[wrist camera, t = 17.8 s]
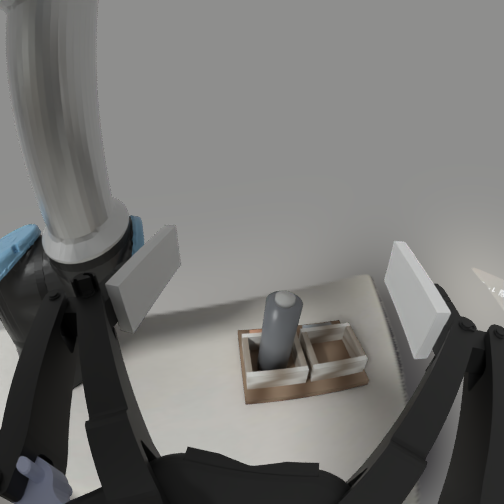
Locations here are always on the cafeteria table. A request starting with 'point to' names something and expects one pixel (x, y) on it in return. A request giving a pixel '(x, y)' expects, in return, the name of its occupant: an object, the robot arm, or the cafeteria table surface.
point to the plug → (278, 330)
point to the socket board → (305, 364)
